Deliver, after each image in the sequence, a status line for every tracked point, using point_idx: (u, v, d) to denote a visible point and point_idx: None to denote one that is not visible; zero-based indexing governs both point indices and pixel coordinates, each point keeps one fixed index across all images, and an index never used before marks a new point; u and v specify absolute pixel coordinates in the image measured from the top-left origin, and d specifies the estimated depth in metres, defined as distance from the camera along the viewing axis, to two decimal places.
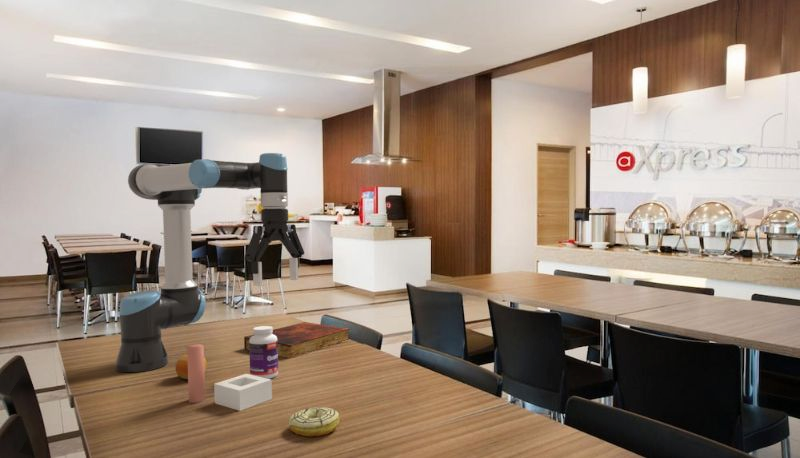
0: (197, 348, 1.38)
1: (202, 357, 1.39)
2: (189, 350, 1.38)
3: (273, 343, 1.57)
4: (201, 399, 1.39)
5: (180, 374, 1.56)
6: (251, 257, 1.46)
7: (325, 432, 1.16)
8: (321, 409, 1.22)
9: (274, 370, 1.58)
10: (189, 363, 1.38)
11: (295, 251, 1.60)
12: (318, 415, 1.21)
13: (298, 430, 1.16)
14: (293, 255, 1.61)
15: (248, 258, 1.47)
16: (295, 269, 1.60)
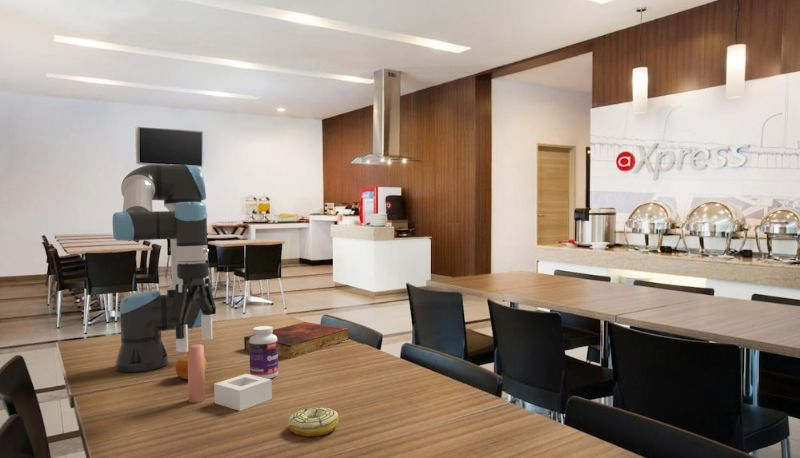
0: (197, 348, 1.38)
1: (202, 357, 1.39)
2: (189, 350, 1.38)
3: (273, 343, 1.57)
4: (201, 399, 1.39)
5: (180, 374, 1.56)
6: (180, 321, 1.29)
7: (324, 432, 1.16)
8: (320, 409, 1.22)
9: (274, 370, 1.58)
10: (189, 363, 1.38)
11: (210, 307, 1.46)
12: (317, 415, 1.21)
13: (297, 430, 1.16)
14: (205, 312, 1.46)
15: (176, 322, 1.29)
16: (210, 327, 1.46)
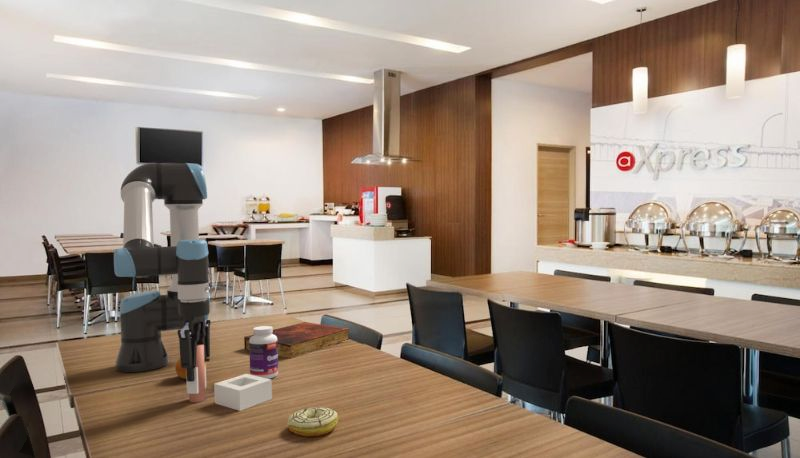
0: (197, 348, 1.38)
1: (202, 357, 1.39)
2: None
3: (273, 343, 1.57)
4: (201, 399, 1.39)
5: (180, 374, 1.56)
6: (190, 365, 1.35)
7: (324, 432, 1.16)
8: (320, 409, 1.22)
9: (274, 370, 1.58)
10: None
11: (205, 353, 1.42)
12: (317, 415, 1.21)
13: (297, 430, 1.16)
14: None
15: (187, 366, 1.34)
16: None
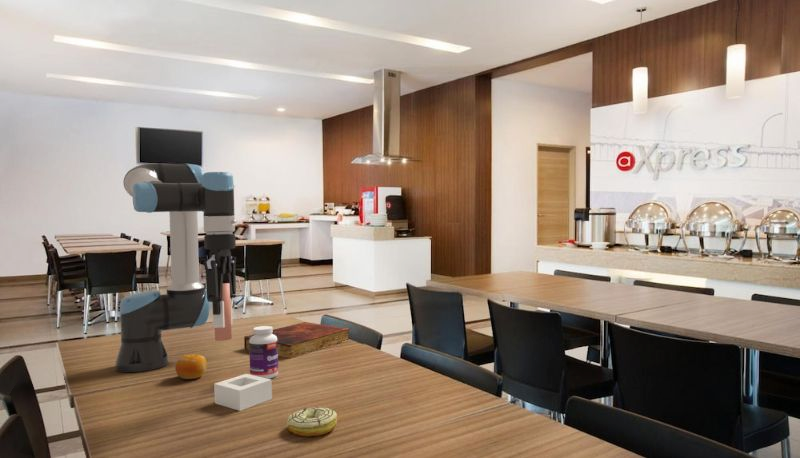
0: (223, 285, 1.36)
1: (228, 295, 1.37)
2: None
3: (273, 343, 1.57)
4: (227, 337, 1.37)
5: (180, 374, 1.56)
6: (217, 297, 1.32)
7: (323, 432, 1.16)
8: (319, 409, 1.22)
9: (274, 370, 1.58)
10: None
11: (231, 289, 1.40)
12: (316, 415, 1.21)
13: (296, 430, 1.16)
14: None
15: (213, 298, 1.32)
16: None
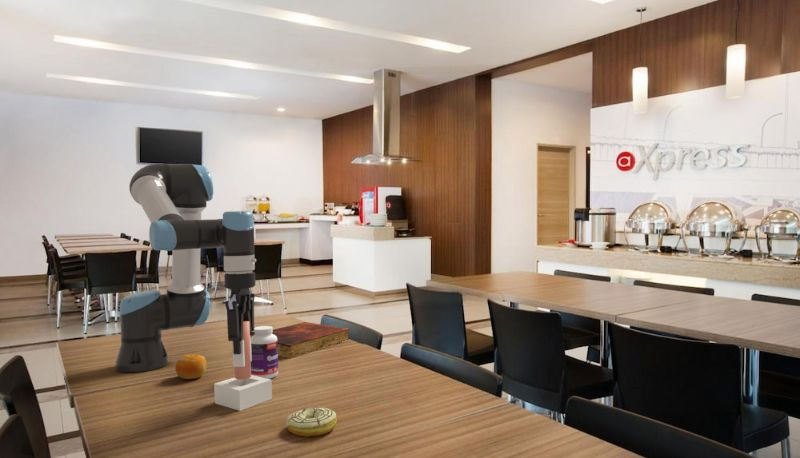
0: (243, 324, 1.36)
1: (248, 333, 1.38)
2: None
3: (273, 343, 1.57)
4: (247, 376, 1.37)
5: (180, 374, 1.56)
6: (238, 337, 1.33)
7: (322, 432, 1.16)
8: (319, 409, 1.22)
9: (274, 370, 1.58)
10: None
11: (250, 326, 1.41)
12: (315, 415, 1.21)
13: (295, 430, 1.16)
14: None
15: (234, 338, 1.33)
16: None
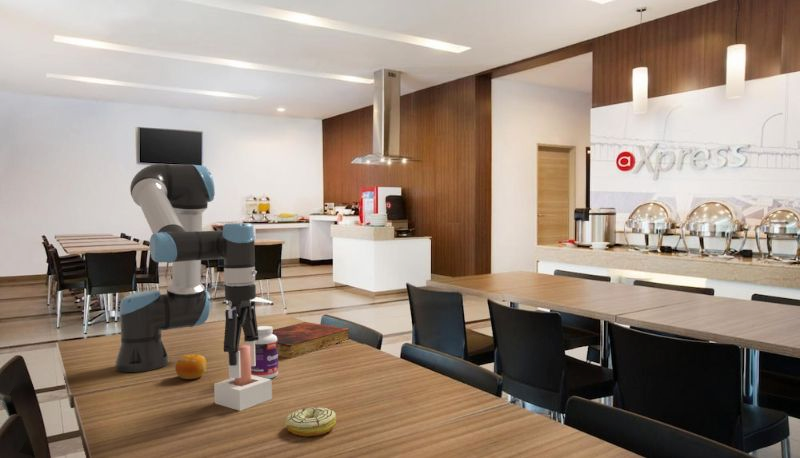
0: (244, 348, 1.37)
1: (249, 357, 1.38)
2: None
3: (273, 343, 1.57)
4: None
5: (180, 374, 1.56)
6: (234, 348, 1.30)
7: (322, 432, 1.16)
8: (318, 409, 1.22)
9: (274, 370, 1.58)
10: None
11: (253, 333, 1.43)
12: (315, 415, 1.21)
13: (295, 430, 1.16)
14: (248, 338, 1.44)
15: (230, 349, 1.30)
16: (253, 354, 1.43)
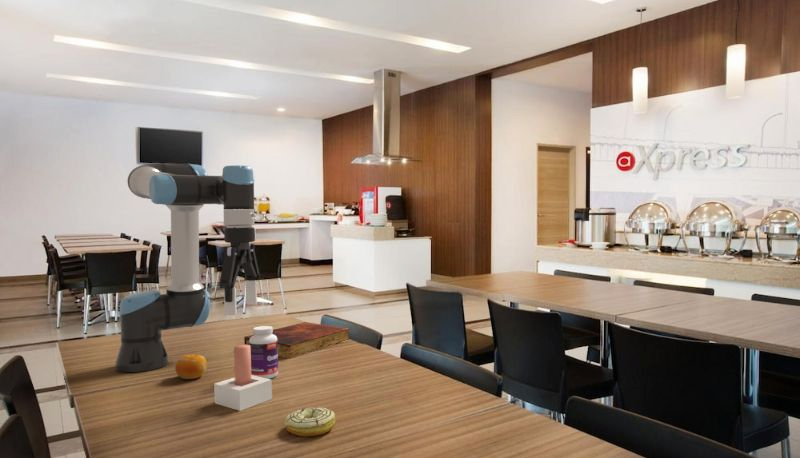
0: (244, 348, 1.37)
1: (249, 357, 1.38)
2: (236, 350, 1.37)
3: (273, 343, 1.57)
4: None
5: (180, 374, 1.56)
6: (229, 283, 1.29)
7: (321, 432, 1.16)
8: (317, 409, 1.22)
9: (274, 370, 1.58)
10: (236, 363, 1.37)
11: (254, 273, 1.45)
12: (314, 415, 1.21)
13: (294, 430, 1.16)
14: (250, 278, 1.46)
15: (225, 285, 1.29)
16: (254, 293, 1.45)
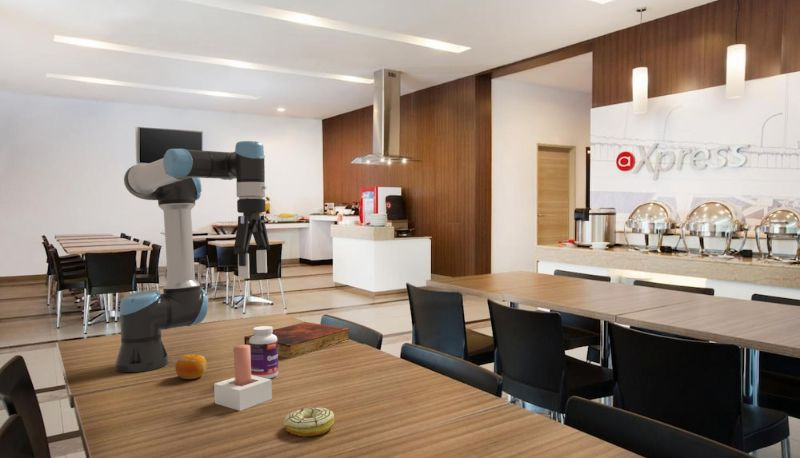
0: (244, 348, 1.37)
1: (249, 357, 1.38)
2: (236, 350, 1.37)
3: (273, 343, 1.57)
4: None
5: (180, 374, 1.56)
6: (243, 248, 1.40)
7: (320, 432, 1.16)
8: (316, 409, 1.22)
9: (274, 370, 1.58)
10: (236, 364, 1.37)
11: (264, 243, 1.56)
12: (313, 415, 1.21)
13: (293, 430, 1.16)
14: (260, 247, 1.57)
15: (239, 249, 1.40)
16: (264, 261, 1.56)
